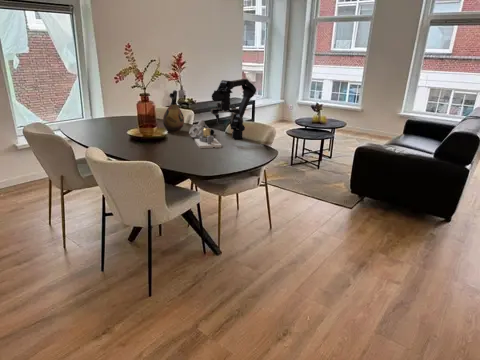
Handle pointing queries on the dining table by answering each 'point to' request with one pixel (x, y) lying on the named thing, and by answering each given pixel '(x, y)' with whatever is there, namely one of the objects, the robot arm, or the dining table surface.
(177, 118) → the ceramic jug
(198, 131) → the mechanical valve
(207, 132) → the brass cylinder
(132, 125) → the dining table surface
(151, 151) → the dining table surface
